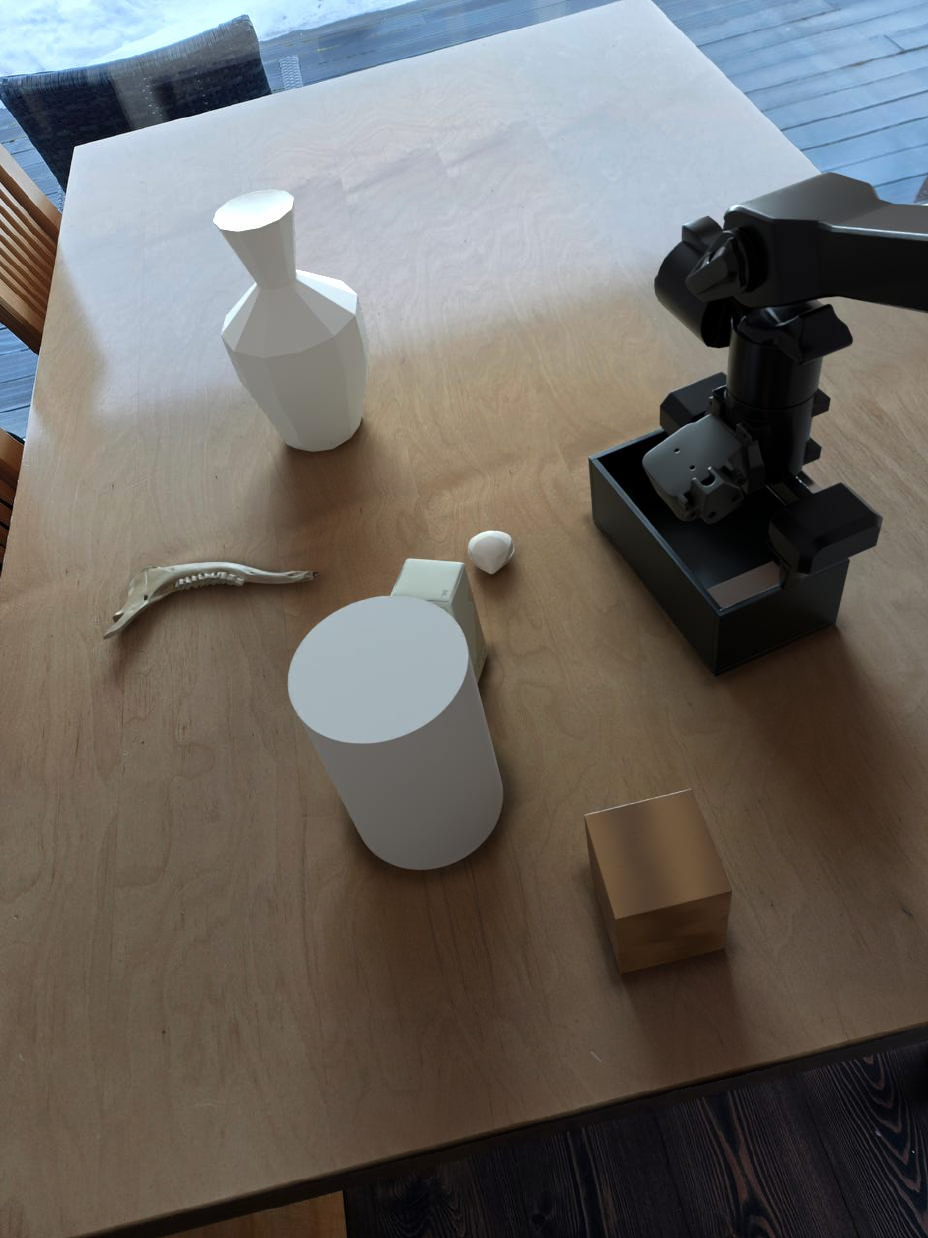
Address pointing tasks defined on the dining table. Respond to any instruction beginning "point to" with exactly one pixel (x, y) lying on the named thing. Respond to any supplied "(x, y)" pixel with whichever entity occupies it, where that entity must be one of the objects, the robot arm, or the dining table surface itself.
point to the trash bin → (707, 562)
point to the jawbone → (191, 584)
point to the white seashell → (491, 550)
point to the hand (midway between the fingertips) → (751, 547)
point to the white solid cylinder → (400, 728)
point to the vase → (293, 329)
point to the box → (446, 599)
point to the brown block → (745, 585)
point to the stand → (658, 880)
